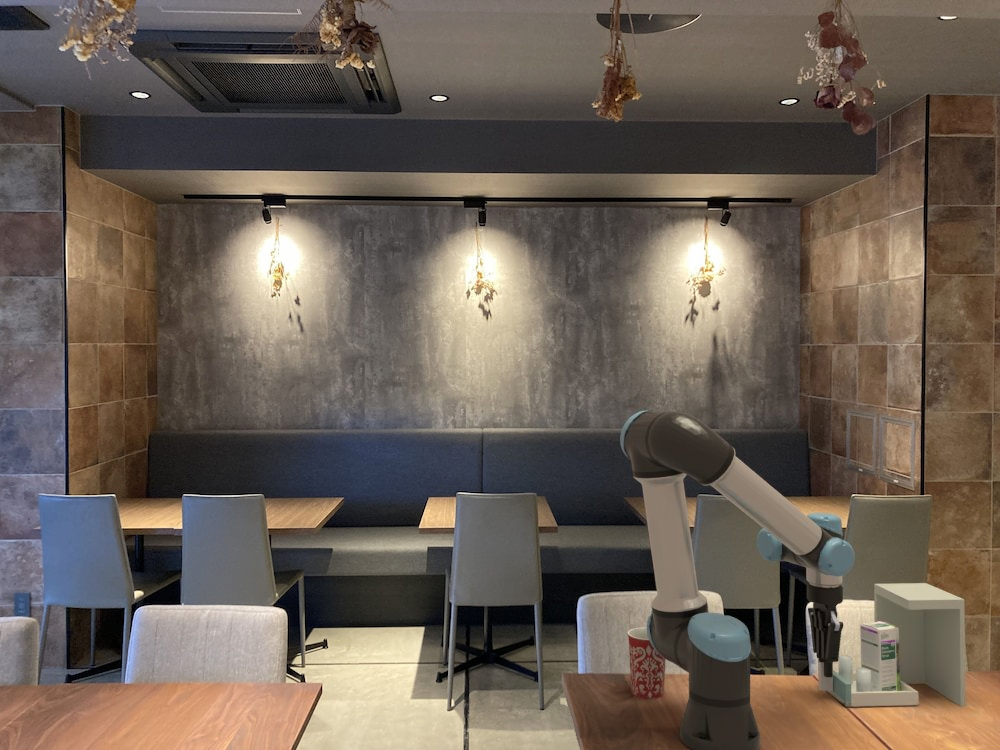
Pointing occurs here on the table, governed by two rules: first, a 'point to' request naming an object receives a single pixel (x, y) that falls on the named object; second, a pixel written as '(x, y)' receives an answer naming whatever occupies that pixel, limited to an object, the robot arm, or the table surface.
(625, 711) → the table surface
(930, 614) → the white open shelf
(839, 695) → the tray
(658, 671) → the mug
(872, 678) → the syrup box
